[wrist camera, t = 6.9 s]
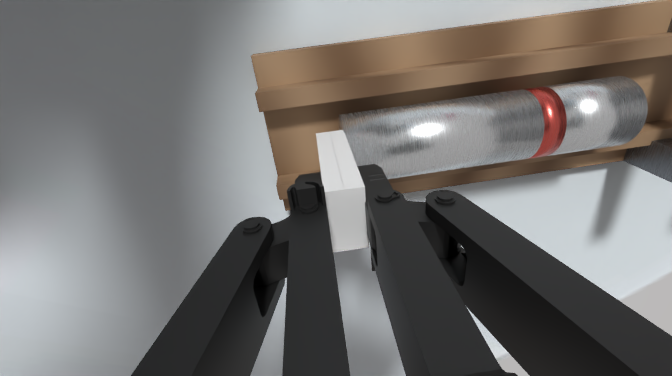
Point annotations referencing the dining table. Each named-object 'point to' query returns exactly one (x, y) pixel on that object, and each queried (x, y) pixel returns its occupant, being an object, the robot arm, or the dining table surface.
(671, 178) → the collars
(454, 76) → the cradle
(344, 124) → the tube
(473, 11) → the dining table surface
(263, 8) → the dining table surface
